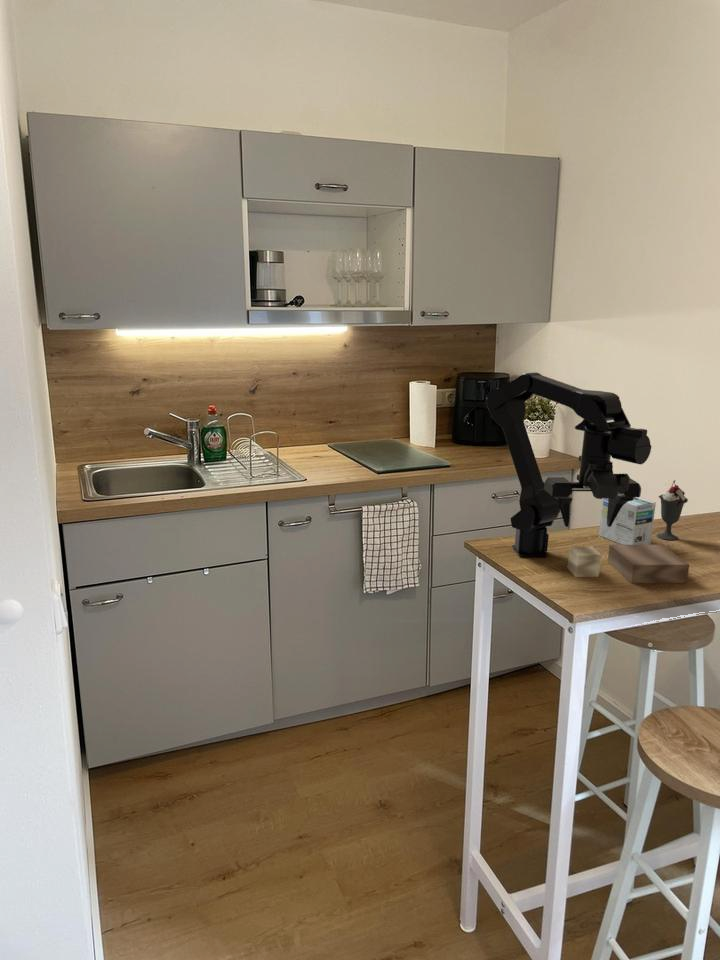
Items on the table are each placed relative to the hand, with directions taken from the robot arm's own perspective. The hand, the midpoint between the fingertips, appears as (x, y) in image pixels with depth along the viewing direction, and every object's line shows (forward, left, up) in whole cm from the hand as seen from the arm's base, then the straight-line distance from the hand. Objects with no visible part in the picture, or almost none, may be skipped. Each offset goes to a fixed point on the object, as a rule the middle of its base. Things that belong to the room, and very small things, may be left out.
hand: (587, 526), depth 153 cm
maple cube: (0, 0, -11) cm, 11 cm away
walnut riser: (+14, 0, -10) cm, 17 cm away
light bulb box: (+18, +20, -11) cm, 29 cm away
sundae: (+30, +22, -11) cm, 39 cm away
